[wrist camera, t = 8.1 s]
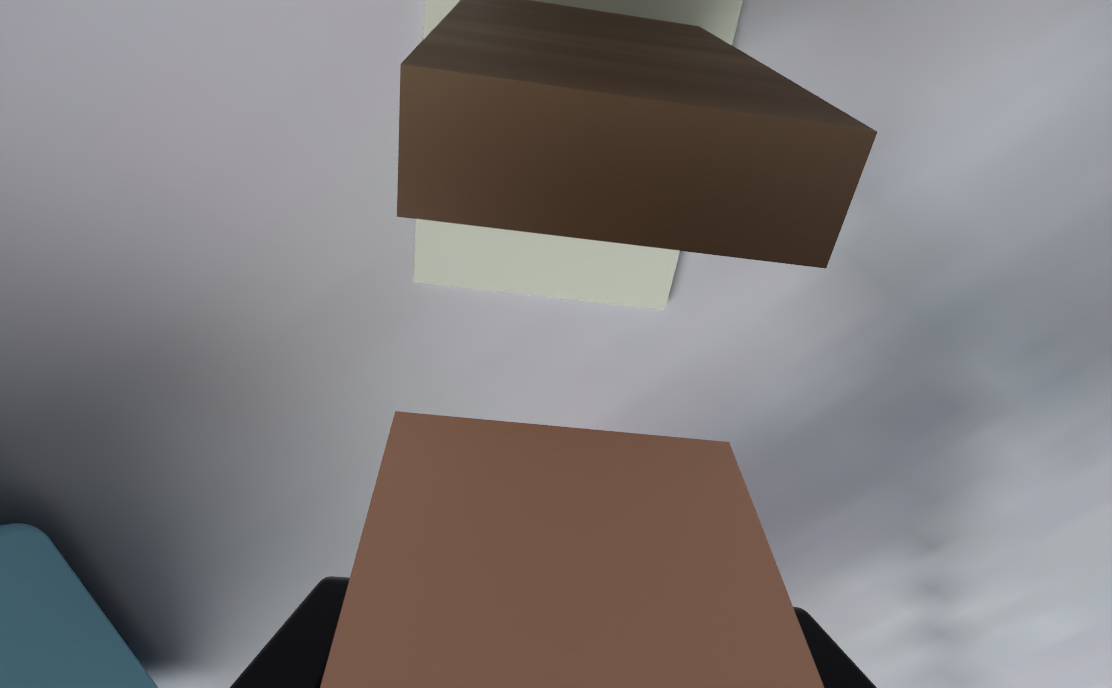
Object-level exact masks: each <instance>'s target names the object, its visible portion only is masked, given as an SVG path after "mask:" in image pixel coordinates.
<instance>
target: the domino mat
mask: <svg viewBox="0 0 1112 688" xmlns="http://www.w3.org/2000/svg"><path fill="white" fill-rule="evenodd" d="M459 1H460V0H424V26H423V40H424V39H425V38H426V37H427V35H428V34H429V33H430V32H431V31H432V30H433V29H434V28H435V27H436V26H437V25H438V24H439V23H440V22H441V20H442V19H443V18H444V17H445V16H446V15H447V14H448V13H449V12H450V11H451V10H452V9H453V8H454V7H455V6H456V4H457V3H458V2H459ZM533 1H539V2H545V3H552V4H558V5H565V6H571V7H578V8H584V9H591V10H597V11H604V12H610V13H617V14H623V15H630V16H636V17H642V18H649V19H655V20H662V21H668V22H675V23H681V24H688V25H694V26H700V27H701V28H703V29H705V30H706V31H708V32H710V33H712V34H713V35H715V36H717V37H718V38H720V39H722V40H723V41H725V42H727V43H728V44H730V45H732V44H733V40H734V36H735V32H736V28H737V24H738V20H739V16H740V12H741V8H742V4H743V0H533ZM679 253H680V251H679V250H671V249H662V248H654V247H646V246H637V245H629V244H621V243H613V242H604V241H596V240H588V239H579V238H571V237H563V236H555V235H546V234H538V233H530V232H521V231H513V230H505V229H497V228H488V227H480V226H472V225H463V224H455V223H447V222H439V221H430V220H422V219H416V230H415V256H414V281H413V282H416V283H425V284H434V285H443V286H452V287H460V288H469V289H478V290H487V291H496V292H505V293H514V294H523V295H532V296H541V297H550V298H559V299H568V300H577V301H586V302H595V303H604V304H613V305H622V306H631V307H640V308H649V309H658V310H665V308H666V304H667V300H668V296H669V292H670V288H671V285H672V281H673V277H674V273H675V269H676V265H677V261H678V257H679Z"/></svg>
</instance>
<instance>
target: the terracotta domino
mask: <svg viewBox="0 0 1112 688" xmlns="http://www.w3.org/2000/svg"><path fill="white" fill-rule="evenodd" d="M320 688H824V686H823V683H822V681H821V678H820V676H819V673H818V670H817V668H816V665H815V663H814V660H813V657H812V655H811V652H810V650H809V647H808V645H807V642H806V639H805V637H804V634H803V632H802V629H801V626H800V624H799V621H798V619H797V616H796V614H795V611H794V608H793V606H792V603H791V601H790V598H789V596H788V593H787V590H786V588H785V585H784V583H783V580H782V577H781V575H780V572H779V570H778V567H777V565H776V562H775V559H774V557H773V554H772V552H771V549H770V547H769V544H768V541H767V539H766V536H765V534H764V531H763V528H762V526H761V523H760V521H759V518H758V516H757V513H756V510H755V508H754V505H753V503H752V500H751V497H750V495H749V492H748V490H747V487H746V485H745V482H744V479H743V477H742V474H741V472H740V469H739V467H738V464H737V461H736V459H735V456H734V454H733V451H732V448H731V446H730V443H729V442H722V441H711V440H700V439H689V438H678V437H667V436H656V435H646V434H635V433H624V432H613V431H602V430H591V429H580V428H570V427H559V426H548V425H537V424H526V423H515V422H504V421H494V420H483V419H472V418H461V417H450V416H439V415H429V414H418V413H407V412H396V411H395V415H394V418H393V422H392V426H391V429H390V433H389V437H388V440H387V444H386V448H385V451H384V455H383V459H382V462H381V466H380V470H379V474H378V477H377V481H376V485H375V488H374V492H373V496H372V499H371V503H370V507H369V510H368V514H367V518H366V521H365V525H364V529H363V532H362V536H361V540H360V543H359V547H358V551H357V554H356V558H355V562H354V565H353V569H352V573H351V576H350V580H349V584H348V587H347V591H346V595H345V598H344V602H343V606H342V609H341V613H340V617H339V620H338V624H337V628H336V631H335V635H334V639H333V642H332V646H331V650H330V653H329V657H328V661H327V664H326V668H325V672H324V675H323V679H322V683H321V686H320Z"/></svg>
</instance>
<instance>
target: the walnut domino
mask: <svg viewBox="0 0 1112 688" xmlns="http://www.w3.org/2000/svg"><path fill="white" fill-rule="evenodd" d="M876 134H877V131H875V130H873V129H871V128H870V127H868V126H866V125H865V124H863V123H861V122H860V121H858V120H856V119H855V118H853V117H851V116H850V115H848V114H846V113H845V112H843V111H841V110H839V109H838V108H836V107H834V106H833V105H831V104H829V103H828V102H826V101H824V100H823V99H821V98H819V97H818V96H816V95H814V94H813V93H811V92H809V91H807V90H806V89H804V88H802V87H801V86H799V85H797V84H796V83H794V82H792V81H791V80H789V79H787V78H786V77H784V76H782V75H781V74H779V73H777V72H776V71H774V70H772V69H770V68H769V67H767V66H765V65H764V64H762V63H760V62H759V61H757V60H755V59H754V58H752V57H750V56H749V55H747V54H745V53H744V52H742V51H740V50H738V49H737V48H735V47H733V46H732V45H730V44H728V43H727V42H725V41H723V40H722V39H720V38H718V37H717V36H715V35H713V34H712V33H710V32H708V31H706V30H705V29H703V28H701V27H700V26H694V25H688V24H681V23H675V22H668V21H662V20H655V19H649V18H642V17H636V16H630V15H623V14H617V13H610V12H604V11H597V10H591V9H584V8H578V7H571V6H565V5H558V4H552V3H545V2H539V1H533V0H460V1H459V2H458V3H457V4H456V6H455V7H454V8H453V9H452V10H451V11H450V12H449V13H448V14H447V15H446V16H445V17H444V18H443V19H442V20H441V22H440V23H439V24H438V25H437V26H436V27H435V28H434V29H433V30H432V31H431V32H430V33H429V34H428V35H427V37H426V38H425V39H424V40H423V41H422V42H421V43H420V44H419V45H418V46H417V47H416V48H415V49H414V50H413V51H412V53H411V54H410V55H409V56H408V57H407V58H406V59H405V60H404V61H403V62H402V63H401V75H400V116H399V157H398V199H397V217H405V218H414V219H422V220H430V221H439V222H447V223H455V224H463V225H472V226H480V227H488V228H497V229H505V230H513V231H521V232H530V233H538V234H546V235H555V236H563V237H571V238H579V239H588V240H596V241H604V242H613V243H621V244H629V245H637V246H646V247H654V248H662V249H671V250H679V251H687V252H695V253H704V254H712V255H720V256H729V257H737V258H745V259H754V260H762V261H770V262H778V263H787V264H795V265H803V266H812V267H820V268H826V267H827V264H828V262H829V259H830V256H831V254H832V251H833V248H834V246H835V243H836V240H837V238H838V235H839V232H840V230H841V227H842V224H843V222H844V219H845V216H846V214H847V211H848V208H849V206H850V203H851V200H852V198H853V195H854V192H855V190H856V187H857V185H858V182H859V179H860V177H861V174H862V171H863V169H864V166H865V163H866V161H867V158H868V155H869V153H870V150H871V147H872V145H873V142H874V139H875V137H876Z"/></svg>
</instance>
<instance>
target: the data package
mask: <svg viewBox="0 0 1112 688" xmlns="http://www.w3.org/2000/svg"><path fill="white" fill-rule="evenodd" d="M0 688H158V687H157V686H156V684H155V683H154V681H153V680H152V679H151V677H150V676H149V675H148V673H147V672H146V670H145V669H144V668H143V666H142V665H141V664H140V662H139V661H138V659H137V658H136V657H135V655H134V654H133V653H132V651H131V650H130V648H129V647H128V646H127V644H126V643H125V642H124V640H123V639H122V637H121V636H120V635H119V633H118V632H117V631H116V629H115V628H114V626H113V625H112V624H111V622H110V621H109V620H108V618H107V617H106V615H105V614H104V613H103V611H102V610H101V609H100V607H99V606H98V604H97V603H96V602H95V600H94V599H93V598H92V596H91V595H90V593H89V592H88V591H87V589H86V588H85V587H84V585H83V584H82V582H81V581H80V580H79V578H78V577H77V576H76V574H75V573H74V572H73V570H72V569H71V567H70V566H69V565H68V563H67V562H66V561H65V559H64V558H63V556H62V555H61V554H60V552H59V551H58V550H57V548H56V547H55V545H54V544H53V543H52V541H51V540H50V539H49V537H48V536H47V535H46V534H45V533H44V532H42V531H41V530H40V529H38V528H36V527H34V526H31V525H28V524H21V523H15V524H6V525H0Z"/></svg>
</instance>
